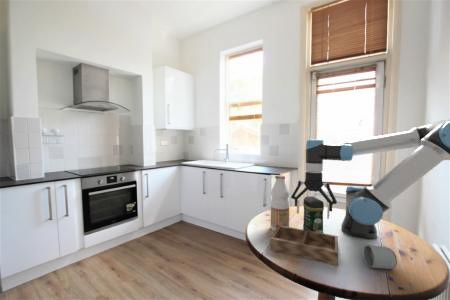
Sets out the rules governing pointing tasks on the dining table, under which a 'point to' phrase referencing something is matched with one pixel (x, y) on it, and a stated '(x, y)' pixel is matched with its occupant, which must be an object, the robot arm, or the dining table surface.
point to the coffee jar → (313, 214)
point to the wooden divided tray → (305, 244)
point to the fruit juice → (279, 203)
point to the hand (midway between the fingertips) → (312, 215)
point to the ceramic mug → (379, 257)
